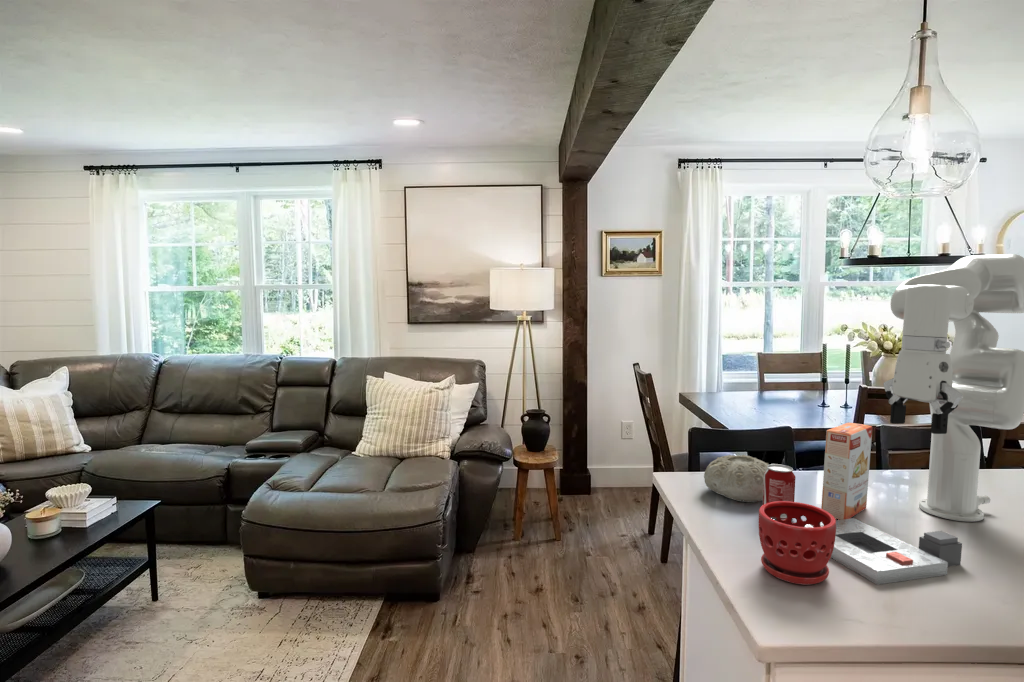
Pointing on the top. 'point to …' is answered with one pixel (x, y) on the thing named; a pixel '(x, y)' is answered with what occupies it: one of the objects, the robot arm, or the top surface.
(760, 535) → the plant pot
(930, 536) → the plug
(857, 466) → the cracker box
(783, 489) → the soda can
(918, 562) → the socket
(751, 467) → the decorative shell
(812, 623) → the top surface
